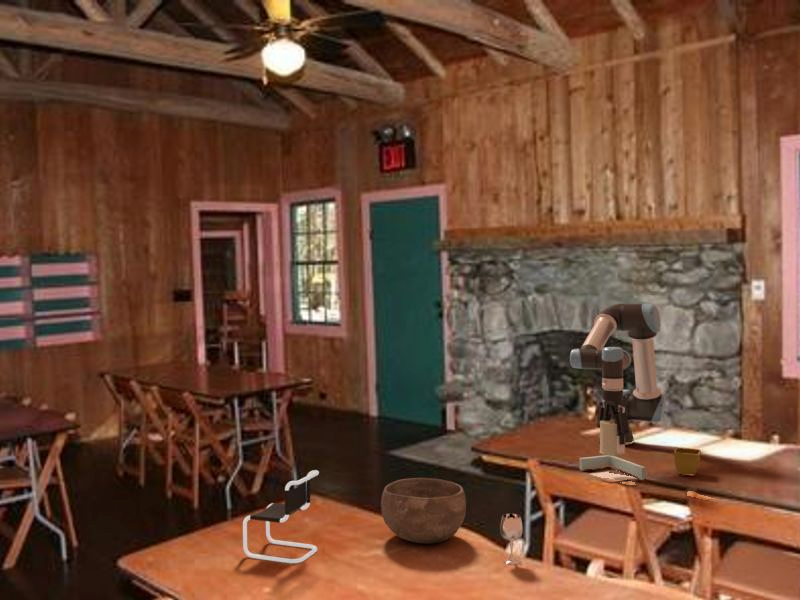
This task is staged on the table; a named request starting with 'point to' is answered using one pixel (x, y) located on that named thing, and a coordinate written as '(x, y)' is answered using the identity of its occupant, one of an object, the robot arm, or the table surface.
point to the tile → (612, 476)
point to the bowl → (423, 509)
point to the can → (609, 438)
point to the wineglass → (511, 533)
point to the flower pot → (687, 460)
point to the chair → (284, 517)
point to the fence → (613, 464)
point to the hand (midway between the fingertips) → (612, 450)
